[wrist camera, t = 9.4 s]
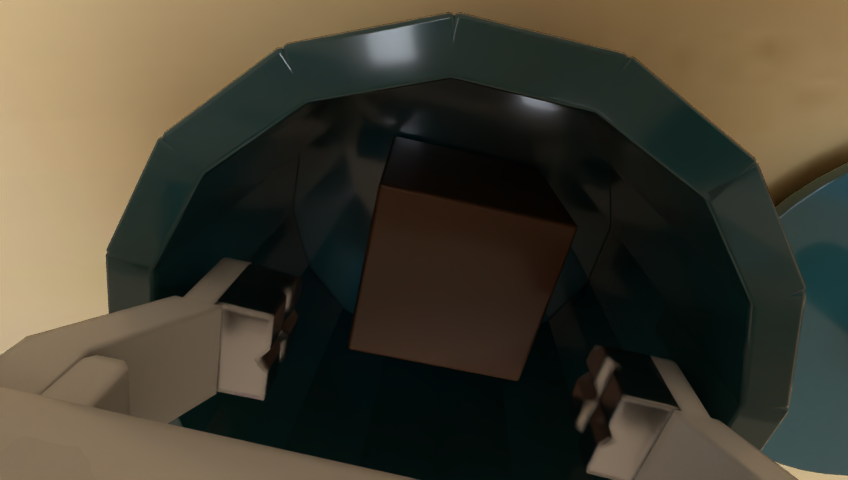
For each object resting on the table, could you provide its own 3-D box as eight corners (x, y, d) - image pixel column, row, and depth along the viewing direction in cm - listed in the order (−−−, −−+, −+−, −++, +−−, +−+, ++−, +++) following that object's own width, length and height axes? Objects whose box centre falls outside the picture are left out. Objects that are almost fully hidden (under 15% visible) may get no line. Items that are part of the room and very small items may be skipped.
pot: (297, -25, 14) (84, -82, 6) (696, 74, 14) (981, 141, 6) (262, 317, 19) (119, 529, 11) (560, 385, 19) (629, 640, 11)
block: (394, 135, 15) (378, 182, 11) (540, 167, 15) (580, 226, 11) (368, 266, 16) (346, 350, 12) (498, 292, 17) (519, 383, 13)
